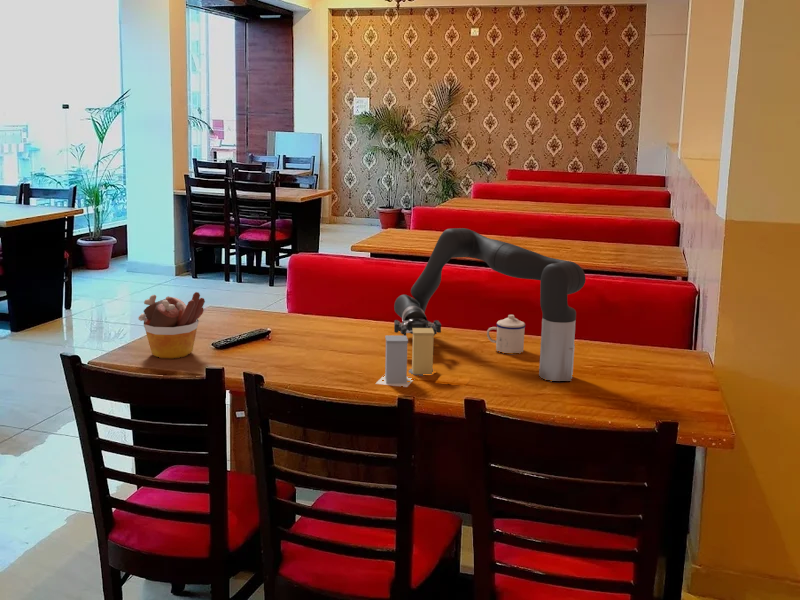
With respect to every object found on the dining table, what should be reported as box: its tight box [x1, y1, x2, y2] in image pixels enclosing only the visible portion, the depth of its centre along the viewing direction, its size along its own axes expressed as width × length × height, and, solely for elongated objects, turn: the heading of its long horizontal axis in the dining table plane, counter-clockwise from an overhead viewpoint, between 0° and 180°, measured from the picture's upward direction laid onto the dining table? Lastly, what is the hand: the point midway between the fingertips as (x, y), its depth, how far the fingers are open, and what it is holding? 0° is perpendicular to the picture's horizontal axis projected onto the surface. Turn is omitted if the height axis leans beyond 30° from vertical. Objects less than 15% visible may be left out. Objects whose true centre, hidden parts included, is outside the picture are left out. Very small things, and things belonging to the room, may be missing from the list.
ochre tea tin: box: [411, 328, 434, 374], centre depth 236 cm, size 6×6×12 cm
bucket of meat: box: [137, 291, 206, 360], centre depth 249 cm, size 20×16×20 cm
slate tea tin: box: [384, 335, 409, 384], centre depth 228 cm, size 6×6×12 cm
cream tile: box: [375, 375, 414, 388], centre depth 229 cm, size 9×9×1 cm
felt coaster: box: [408, 368, 424, 377], centre depth 238 cm, size 8×8×1 cm
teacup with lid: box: [486, 314, 526, 354], centre depth 262 cm, size 12×9×12 cm
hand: (419, 332), depth 247 cm, fingers open, 8 cm apart
